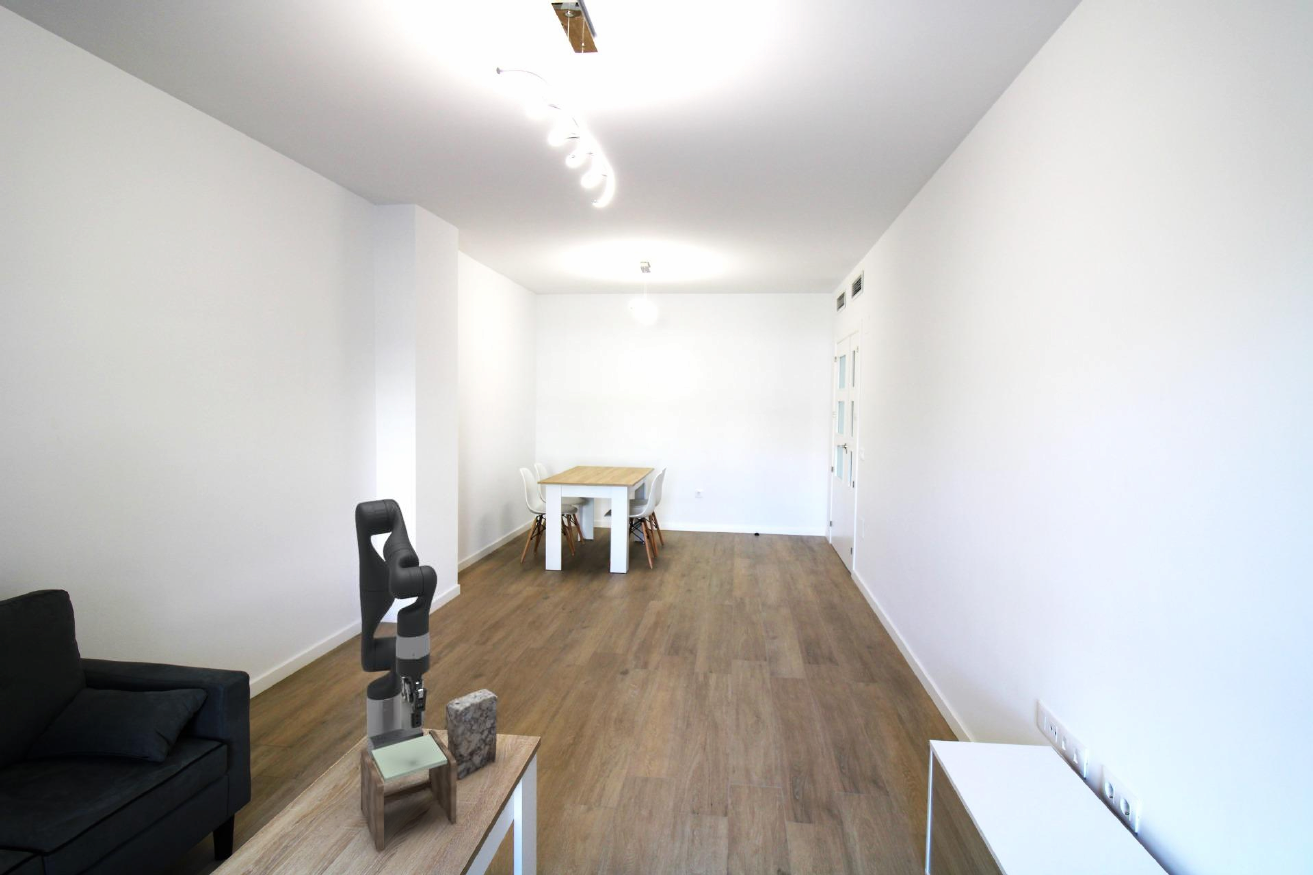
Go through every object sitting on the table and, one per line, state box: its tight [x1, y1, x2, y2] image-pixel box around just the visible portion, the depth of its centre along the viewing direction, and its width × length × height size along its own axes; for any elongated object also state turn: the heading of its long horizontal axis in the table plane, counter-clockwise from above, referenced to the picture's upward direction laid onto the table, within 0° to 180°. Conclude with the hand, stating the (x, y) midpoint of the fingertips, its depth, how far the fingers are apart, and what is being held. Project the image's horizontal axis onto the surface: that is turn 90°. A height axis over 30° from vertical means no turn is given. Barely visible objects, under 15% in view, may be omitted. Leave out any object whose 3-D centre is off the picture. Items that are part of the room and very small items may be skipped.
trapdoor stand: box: [360, 729, 458, 853], centre depth 152 cm, size 18×18×15 cm
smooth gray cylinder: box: [401, 699, 425, 731], centre depth 148 cm, size 5×5×6 cm
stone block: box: [445, 688, 499, 780], centre depth 173 cm, size 13×7×20 cm, turn 145°
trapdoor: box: [370, 727, 447, 784], centre depth 154 cm, size 21×14×3 cm, turn 36°
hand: (413, 721), depth 148 cm, fingers closed on smooth gray cylinder, 5 cm apart
